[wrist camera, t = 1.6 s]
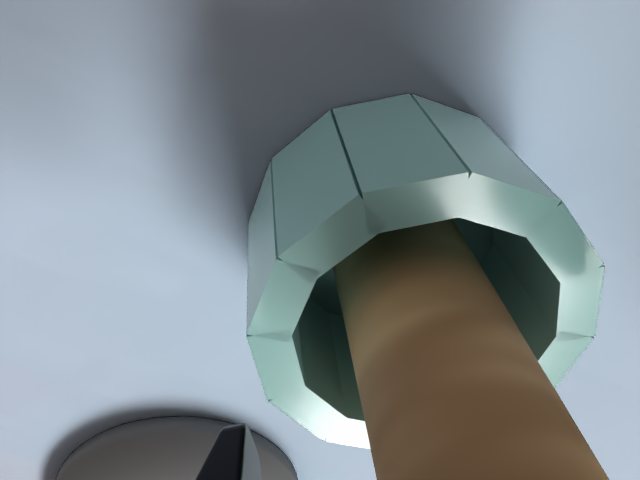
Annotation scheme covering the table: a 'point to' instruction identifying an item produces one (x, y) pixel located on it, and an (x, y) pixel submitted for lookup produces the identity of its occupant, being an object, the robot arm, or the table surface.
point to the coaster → (162, 452)
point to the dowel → (449, 368)
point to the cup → (391, 214)
